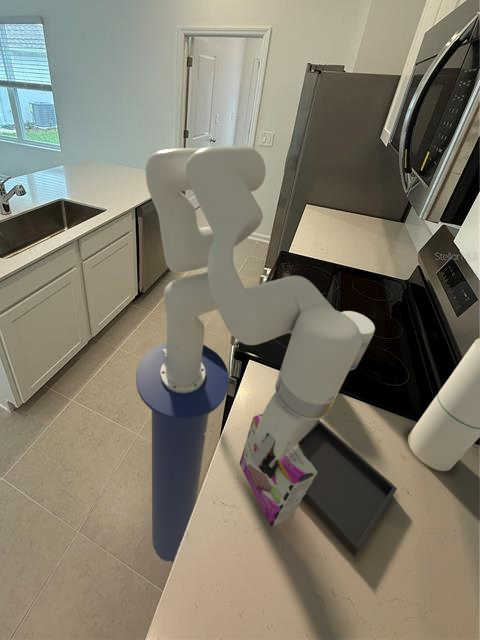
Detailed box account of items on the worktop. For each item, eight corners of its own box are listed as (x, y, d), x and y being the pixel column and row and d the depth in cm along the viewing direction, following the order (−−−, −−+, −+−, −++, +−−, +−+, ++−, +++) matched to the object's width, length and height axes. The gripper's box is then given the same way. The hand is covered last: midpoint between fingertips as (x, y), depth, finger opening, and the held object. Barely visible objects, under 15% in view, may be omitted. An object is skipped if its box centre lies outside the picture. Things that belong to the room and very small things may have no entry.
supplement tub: (316, 350, 93) (329, 312, 86) (340, 344, 96) (356, 307, 89) (339, 376, 85) (356, 337, 78) (365, 368, 88) (384, 330, 81)
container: (447, 441, 71) (524, 347, 56) (458, 478, 64) (549, 383, 49) (405, 425, 74) (468, 332, 59) (411, 459, 67) (484, 363, 52)
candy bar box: (237, 464, 61) (251, 415, 53) (258, 454, 63) (275, 406, 55) (270, 531, 52) (293, 485, 44) (293, 518, 54) (320, 471, 46)
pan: (274, 467, 64) (276, 460, 62) (315, 425, 72) (318, 419, 71) (354, 556, 52) (359, 550, 51) (392, 494, 61) (397, 488, 59)
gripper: (316, 344, 50) (290, 411, 59) (242, 400, 40) (224, 469, 49) (361, 377, 45) (325, 444, 54) (288, 449, 35) (259, 516, 44)
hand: (277, 456), depth 52 cm, fingers closed on candy bar box, 5 cm apart
